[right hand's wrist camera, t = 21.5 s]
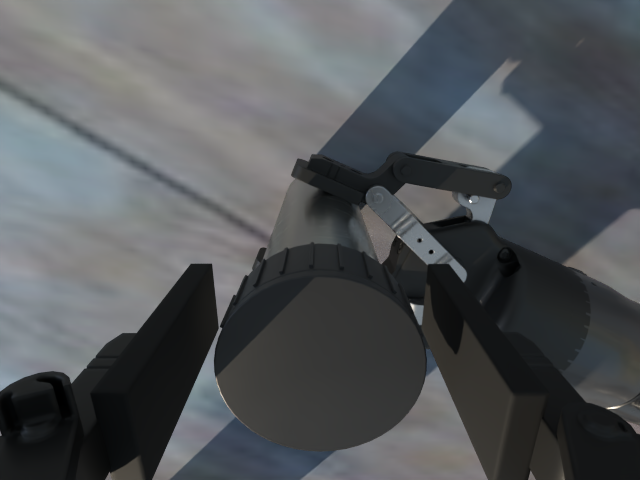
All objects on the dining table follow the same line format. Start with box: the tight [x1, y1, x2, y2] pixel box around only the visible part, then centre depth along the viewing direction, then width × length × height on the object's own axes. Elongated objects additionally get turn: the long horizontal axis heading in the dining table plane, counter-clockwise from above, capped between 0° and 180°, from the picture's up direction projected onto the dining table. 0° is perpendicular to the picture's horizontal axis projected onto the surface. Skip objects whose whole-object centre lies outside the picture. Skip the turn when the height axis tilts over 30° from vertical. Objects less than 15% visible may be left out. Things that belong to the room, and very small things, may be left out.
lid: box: [214, 242, 427, 451], centre depth 12 cm, size 6×6×2 cm
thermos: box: [263, 179, 379, 262], centre depth 19 cm, size 5×5×17 cm
